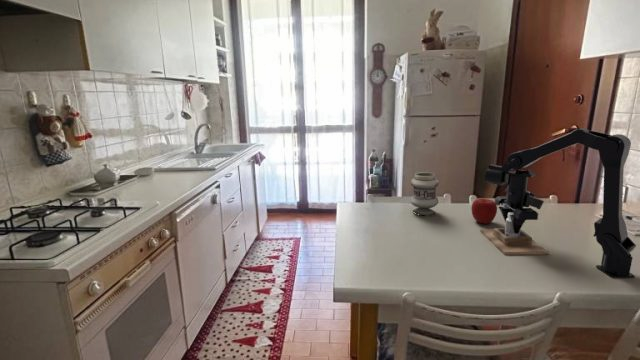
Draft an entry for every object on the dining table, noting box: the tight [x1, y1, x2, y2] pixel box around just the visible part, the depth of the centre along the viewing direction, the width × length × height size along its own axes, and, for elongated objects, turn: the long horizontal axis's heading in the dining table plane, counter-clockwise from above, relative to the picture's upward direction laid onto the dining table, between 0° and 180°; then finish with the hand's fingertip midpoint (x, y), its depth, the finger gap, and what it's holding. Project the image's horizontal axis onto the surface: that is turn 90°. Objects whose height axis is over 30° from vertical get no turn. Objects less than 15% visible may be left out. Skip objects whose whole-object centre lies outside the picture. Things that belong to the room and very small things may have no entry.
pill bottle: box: [504, 212, 522, 237], centre depth 123 cm, size 5×5×8 cm
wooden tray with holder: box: [479, 227, 549, 256], centre depth 124 cm, size 20×14×4 cm
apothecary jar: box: [410, 171, 440, 217], centre depth 156 cm, size 12×12×18 cm
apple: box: [471, 198, 498, 225], centre depth 143 cm, size 10×10×10 cm
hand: (512, 230), depth 123 cm, fingers closed on pill bottle, 5 cm apart
